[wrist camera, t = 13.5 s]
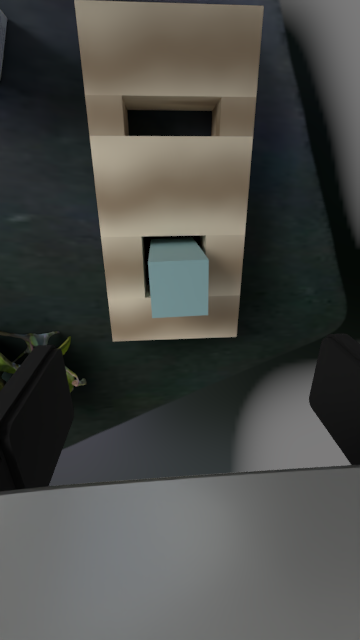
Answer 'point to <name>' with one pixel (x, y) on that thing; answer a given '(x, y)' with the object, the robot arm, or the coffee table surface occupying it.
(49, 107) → the coffee table surface
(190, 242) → the square peg
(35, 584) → the robot arm
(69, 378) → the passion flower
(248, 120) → the bore board
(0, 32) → the medicine box
